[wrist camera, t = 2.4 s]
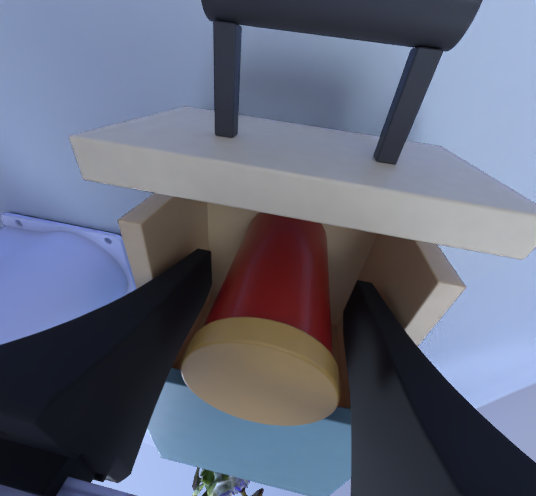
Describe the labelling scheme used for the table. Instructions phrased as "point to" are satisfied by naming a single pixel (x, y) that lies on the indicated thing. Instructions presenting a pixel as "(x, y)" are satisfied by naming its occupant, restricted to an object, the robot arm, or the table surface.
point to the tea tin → (270, 329)
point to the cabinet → (252, 443)
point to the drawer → (314, 172)
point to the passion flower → (220, 484)
